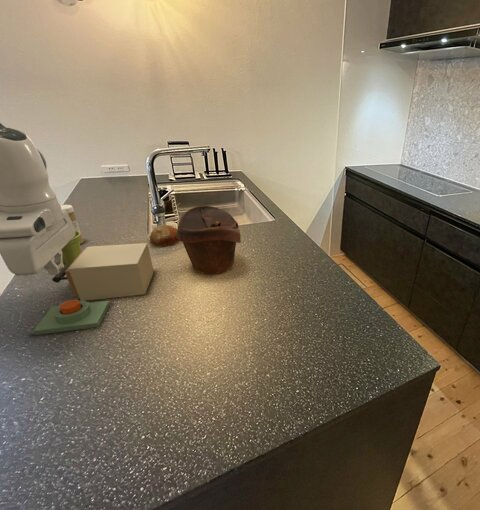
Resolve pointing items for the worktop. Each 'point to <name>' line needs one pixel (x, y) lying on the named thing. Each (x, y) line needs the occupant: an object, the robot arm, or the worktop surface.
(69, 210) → the sprinkles bottle
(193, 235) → the chocolate muffin
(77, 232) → the plant pot
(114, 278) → the cabinet
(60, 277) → the drawer
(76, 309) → the button
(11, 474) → the worktop surface
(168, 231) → the bread roll
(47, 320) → the panel
